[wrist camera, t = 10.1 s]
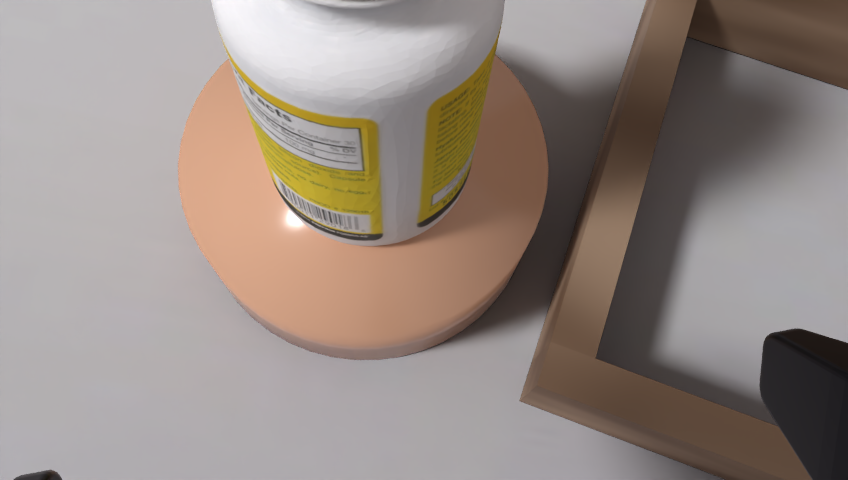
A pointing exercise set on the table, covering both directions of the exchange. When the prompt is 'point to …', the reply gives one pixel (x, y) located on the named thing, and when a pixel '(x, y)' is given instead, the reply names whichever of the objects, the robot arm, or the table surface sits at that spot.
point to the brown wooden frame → (612, 224)
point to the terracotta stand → (352, 264)
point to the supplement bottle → (364, 105)
